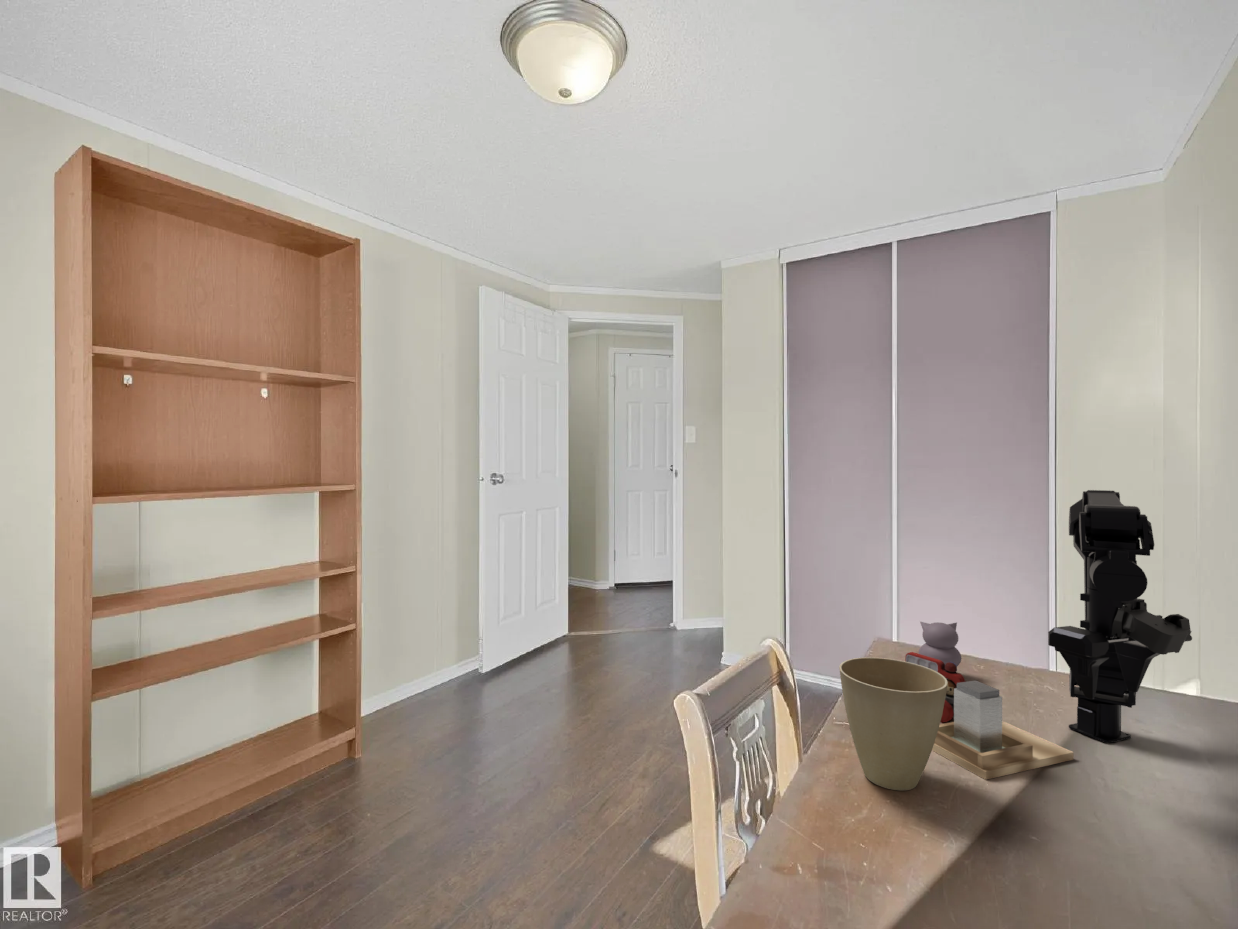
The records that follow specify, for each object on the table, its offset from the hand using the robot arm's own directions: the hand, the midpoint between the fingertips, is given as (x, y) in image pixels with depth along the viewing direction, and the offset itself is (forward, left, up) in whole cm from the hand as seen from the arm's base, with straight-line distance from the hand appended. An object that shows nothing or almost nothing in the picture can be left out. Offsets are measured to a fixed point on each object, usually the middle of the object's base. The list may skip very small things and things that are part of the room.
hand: (1111, 694), depth 89 cm
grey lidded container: (+11, -13, -12) cm, 21 cm away
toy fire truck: (+4, -28, -14) cm, 31 cm away
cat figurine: (-13, -43, -13) cm, 47 cm away
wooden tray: (+7, -13, -13) cm, 20 cm away
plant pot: (+30, -12, -13) cm, 35 cm away
